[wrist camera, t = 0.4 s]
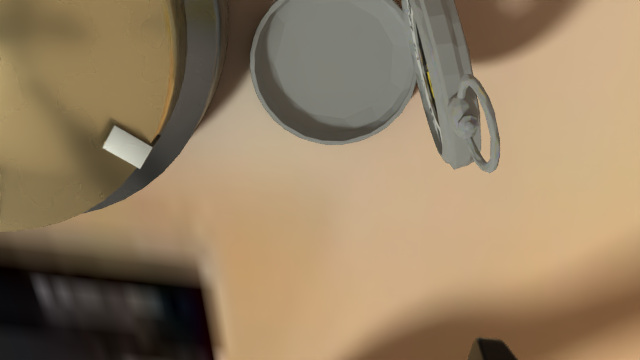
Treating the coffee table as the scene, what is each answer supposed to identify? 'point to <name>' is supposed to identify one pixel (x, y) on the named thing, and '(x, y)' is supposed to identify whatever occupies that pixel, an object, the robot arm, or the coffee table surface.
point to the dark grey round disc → (186, 92)
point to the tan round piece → (82, 100)
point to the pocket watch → (371, 72)
